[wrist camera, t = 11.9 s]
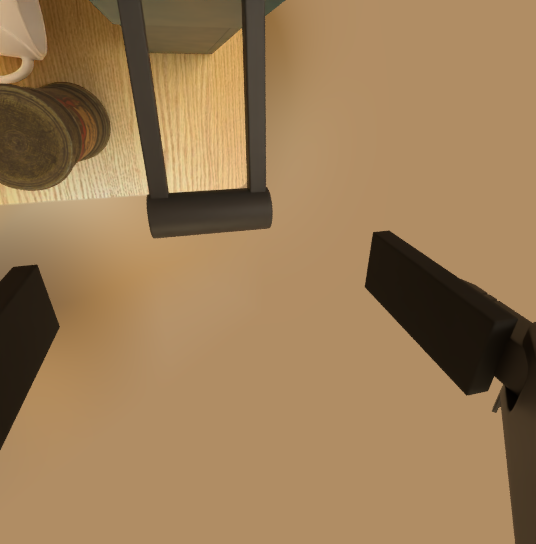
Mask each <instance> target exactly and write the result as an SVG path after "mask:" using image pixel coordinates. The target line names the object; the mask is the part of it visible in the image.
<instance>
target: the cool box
mask: <svg viewBox="0 0 536 544" xmlns="http://www.w3.org/2000/svg"><path fill="white" fill-rule="evenodd" d="M119 25H120V26H121V24H119ZM145 29H146V36H147V43H148V50H149V53H185V54H212V53H214V52H215V51H216V50H217V49H218V48H219V47H220V46H221V45H223V44H224V43H225V42H226V41H227V40H228V39H229V38H231V37H232V36H233V35H234V34H235V33H236V32H237V31H239V30H240V29H241V28H218V27H186V26H154V25H145Z"/></svg>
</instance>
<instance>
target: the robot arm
mask: <svg viewBox="0 0 536 544" xmlns="http://www.w3.org/2000/svg"><path fill="white" fill-rule="evenodd" d="M365 288H366V289H367V290H368V291H369V292H370V293H371V294H372V295H373V296H374V297H375V298H376V299H377V301H378V302H380V303H381V305H382V306H383V307H384V308H385V309H386V310H387V311H388V312H389V313H390V314H391V315H392V316H393V317H394V319H395V320H396V321H397V322H398V323H399V324H400V325H401V326H402V327H403V328H404V329H405V330H406V331H407V332H408V334H410V336H411V337H413V339H414V340H415V341H416V342H417V343H418V344H419V345H420V346H421V347H422V348H423V350H424V351H425V352H426V353H427V354H428V355H429V356H430V357H431V358H432V359H433V360H434V361H435V362H436V363H437V364H438V365H439V367H440V368H441V369H442V370H443V371H444V372H445V373H446V374H447V375H448V376H449V377H450V378H451V379H452V380H453V381H454V383H455V384H456V385H457V386H458V387H459V388H460V389H461V390H462V391H463V392H464V393H465V394H466V395H472V394H476V393H481V392H485V391H488V390H489V387H490V385H491V382H492V380H493V378H494V376H495V377H496V378H497V379H498V380H499V381H501V382H502V383H503V386H502V388H501V390H500V393H499V395H498V397H497V399H496V402H495V404H494V406H493V410H492V412H495V413H496V412H497V410H498V408H499V407H501V410H502V420H503V430H504V439H505V449H506V459H507V468H508V477H509V487H510V496H511V506H512V515H513V526H514V536H515V544H536V322H534V323H532V322H530V321H529V320H527V319H526V318H524V317H523V316H521V315H520V314H518V313H516V312H515V311H514V310H512V309H511V308H509V307H508V306H506V305H505V304H503V303H502V302H500V301H497V299H495V298H494V297H492V296H491V295H488V294H487V293H486V292H485V291H483V290H482V289H481V288H479V287H477V286H476V285H474V284H472V283H469V282H467V281H464V280H462V279H459V278H457V277H456V276H455V275H454V274H452V273H450V272H449V271H448V270H446V269H444V268H443V267H442V266H440V265H439V264H437V263H436V262H434V261H433V260H431V259H430V258H428V257H427V256H426V255H424V254H423V253H421V252H419V251H418V250H417V249H415V248H414V247H412V246H411V245H409V244H408V243H406V242H405V241H403V240H402V239H401V238H399V237H398V236H396V235H395V234H393V233H392V232H390V231H381V232H373V237H372V243H371V250H370V256H369V263H368V269H367V277H366V283H365ZM59 327H60V326H59V323H58V321H57V318H56V315H55V312H54V310H53V307H52V304H51V301H50V299H49V296H48V293H47V290H46V288H45V285H44V282H43V279H42V277H41V274H40V271H39V268H38V265H29V266H18V267H13V268H12V269H11V270H10V271H9V272H8V273H7V275H5V277H4V278H3V279H2V280H1V281H0V450H1V447H2V445H3V443H4V441H5V439H6V437H7V435H8V433H9V431H10V429H11V427H12V425H13V422H14V420H15V419H16V416H17V414H18V412H19V410H20V408H21V406H22V404H23V402H24V400H25V398H26V396H27V393H28V391H29V389H30V387H31V385H32V383H33V381H34V379H35V377H36V375H37V373H38V371H39V369H40V367H41V365H42V363H43V360H44V358H45V356H46V354H47V352H48V350H49V348H50V346H51V344H52V341H53V339H54V338H55V335H56V333H57V331H58V329H59Z"/></svg>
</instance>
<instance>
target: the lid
mask: <svg viewBox="0 0 536 544" xmlns="http://www.w3.org/2000/svg"><path fill="white" fill-rule="evenodd" d="M89 1H90V2H91V3H92V4H93V5H94V6H95V7H96V8H97V9H98V10H99V11H100V12H101V13H102V14H103V15H104V16H105V17H106V18H107V19H108V20H109V21H110V22H111V23H112V24H121V27H122V33H123V39H124V45H125V51H126V57H127V63H128V69H129V75H130V81H131V87H132V93H133V99H134V105H135V111H136V117H137V123H138V128H139V134H140V140H141V146H142V152H143V158H144V164H145V170H146V176H147V182H148V188H149V195H147V214H148V221H149V227H150V231H151V235H152V237H153V238H164V237H176V236H187V235H199V234H210V233H221V232H233V231H244V230H256V229H267V228H270V227H271V224H272V201H271V197H270V192H269V190H268V188H267V187H266V135H265V134H266V126H265V125H266V117H265V115H266V114H265V16H266V15H267V14H268V13H270V12H271V11H272V10H273V9H275V8H276V7H277V6H279V5H280V4H281V3H282V2H283V1H285V0H89ZM145 25H154V26H186V27H218V28H242V35H243V67H244V99H245V131H246V163H247V188H242V189H226V190H211V191H195V192H179V193H169V192H168V184H167V177H166V170H165V163H164V156H163V149H162V142H161V135H160V128H159V121H158V114H157V107H156V99H155V92H154V85H153V78H152V71H151V64H150V57H149V50H148V43H147V36H146V29H145Z"/></svg>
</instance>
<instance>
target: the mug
mask: <svg viewBox="0 0 536 544" xmlns="http://www.w3.org/2000/svg"><path fill="white" fill-rule="evenodd" d="M46 54H47V36H46V30H45V25H44V20H43V15H42V11H41V7H40V4H39V0H0V55H3V56H11V57H19V58H21V59H22V64H21V66H20V68H19V69H18V70H17V71H15V72H13V73H11V74H8V75H4V76H0V84H9V83H14V82H18V81H21V80H23V79H25V78H26V77H27V76H29V75H30V73H31V72H32V70H33V67H34V60H43V58H44V57H45V56H46Z"/></svg>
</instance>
